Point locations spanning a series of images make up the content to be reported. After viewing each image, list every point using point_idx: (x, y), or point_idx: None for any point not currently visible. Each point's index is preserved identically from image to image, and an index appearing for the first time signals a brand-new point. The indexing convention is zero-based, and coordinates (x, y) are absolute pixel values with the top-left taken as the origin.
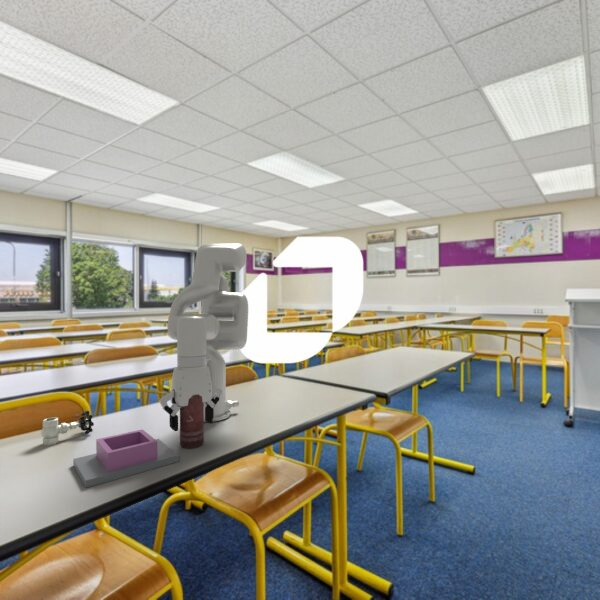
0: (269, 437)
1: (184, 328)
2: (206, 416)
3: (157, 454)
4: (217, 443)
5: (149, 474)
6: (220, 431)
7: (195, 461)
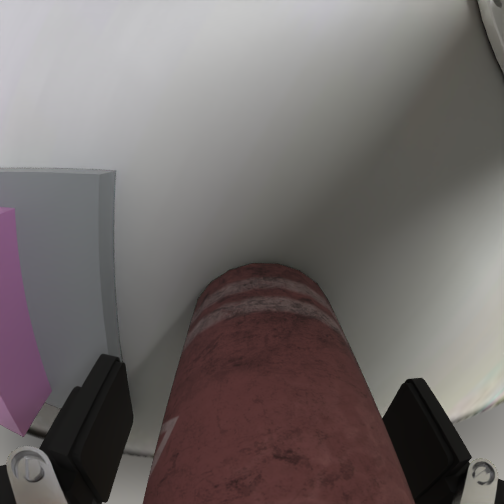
0: (465, 418)
1: None
2: (409, 424)
3: (53, 368)
4: None
5: None
6: (473, 262)
7: None
